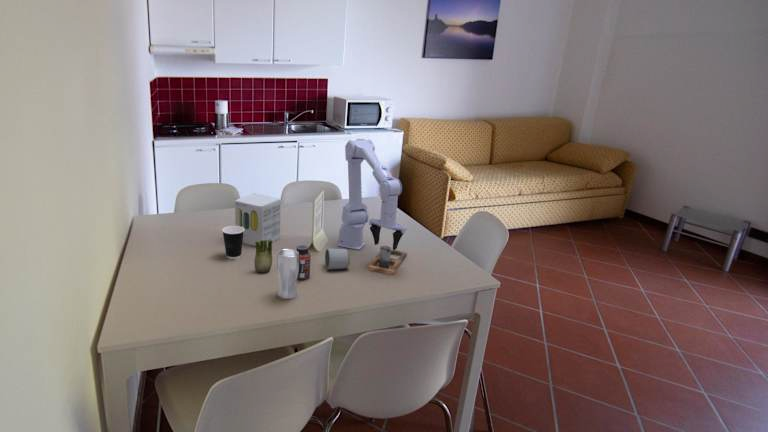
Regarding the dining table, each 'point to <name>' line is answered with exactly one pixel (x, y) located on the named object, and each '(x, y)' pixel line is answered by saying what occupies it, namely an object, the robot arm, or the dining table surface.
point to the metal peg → (384, 257)
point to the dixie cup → (233, 241)
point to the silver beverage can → (287, 272)
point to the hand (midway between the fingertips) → (385, 246)
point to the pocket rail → (394, 262)
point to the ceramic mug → (337, 258)
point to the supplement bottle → (303, 262)
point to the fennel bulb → (263, 256)
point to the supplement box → (258, 218)
